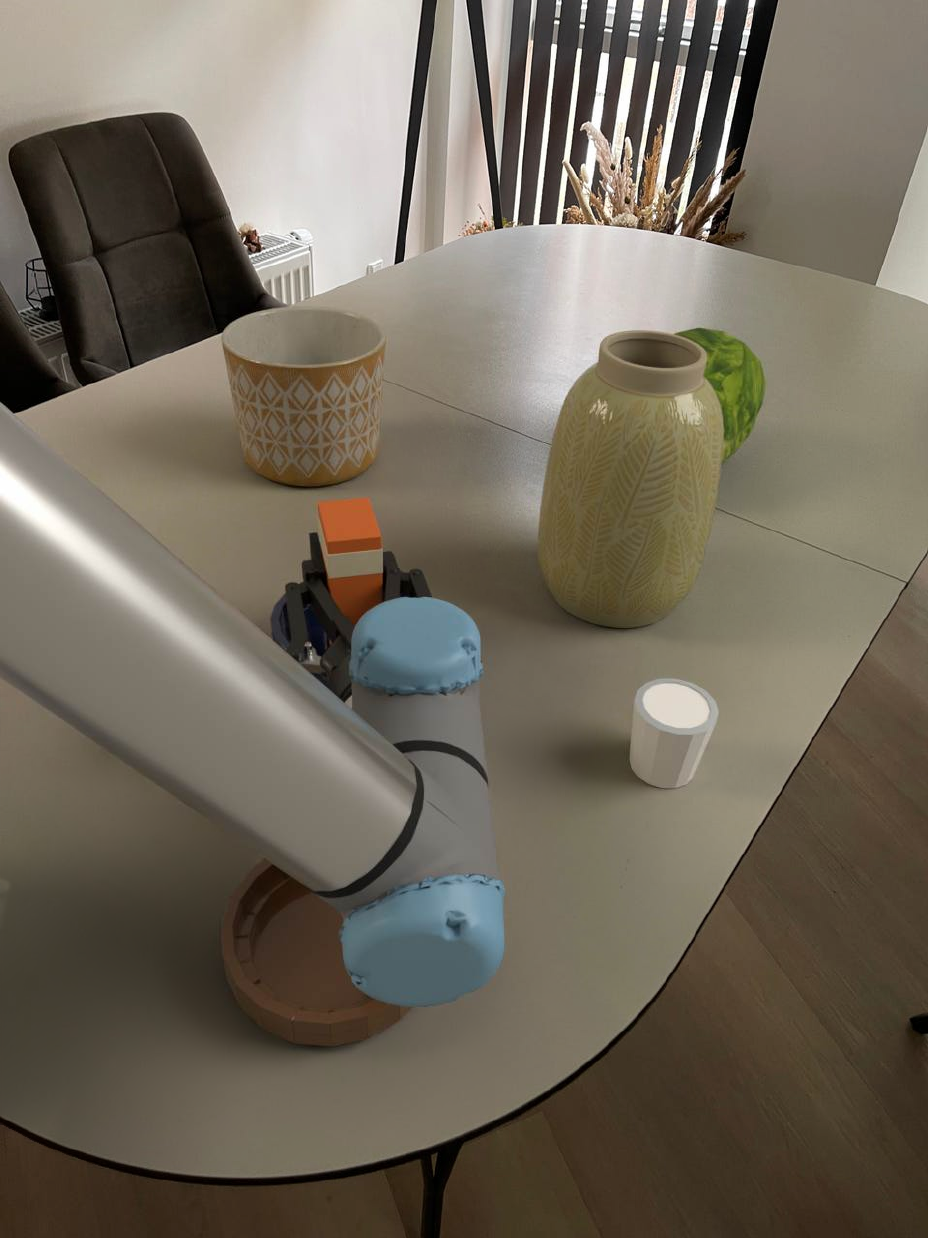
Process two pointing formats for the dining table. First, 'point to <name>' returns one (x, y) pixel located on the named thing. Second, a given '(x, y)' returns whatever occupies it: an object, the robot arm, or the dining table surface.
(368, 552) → the packet
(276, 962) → the bowl
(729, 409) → the lettuce
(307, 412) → the planter
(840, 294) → the dining table surface
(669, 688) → the white cylinder
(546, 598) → the dining table surface
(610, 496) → the vase
